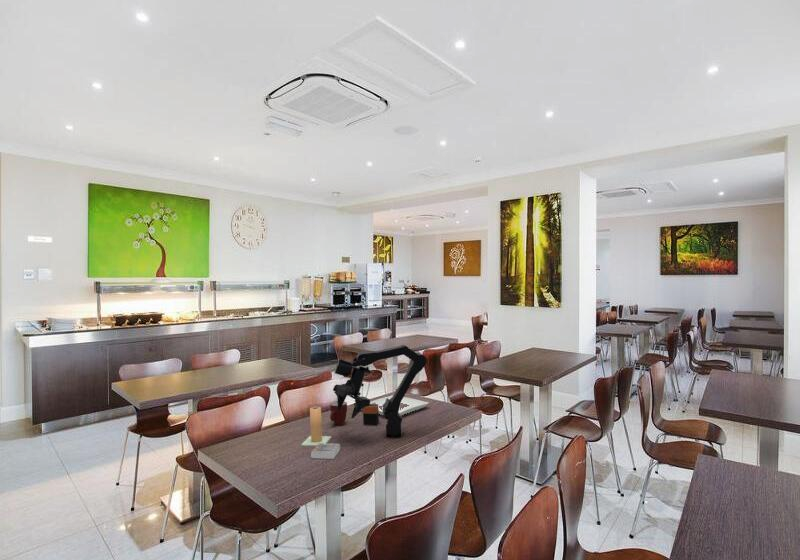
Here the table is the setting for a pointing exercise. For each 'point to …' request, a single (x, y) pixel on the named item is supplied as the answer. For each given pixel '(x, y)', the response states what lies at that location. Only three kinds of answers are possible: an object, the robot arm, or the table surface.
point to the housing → (325, 451)
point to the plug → (316, 424)
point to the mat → (309, 443)
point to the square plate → (412, 403)
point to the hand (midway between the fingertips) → (345, 414)
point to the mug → (338, 413)
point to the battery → (371, 414)
